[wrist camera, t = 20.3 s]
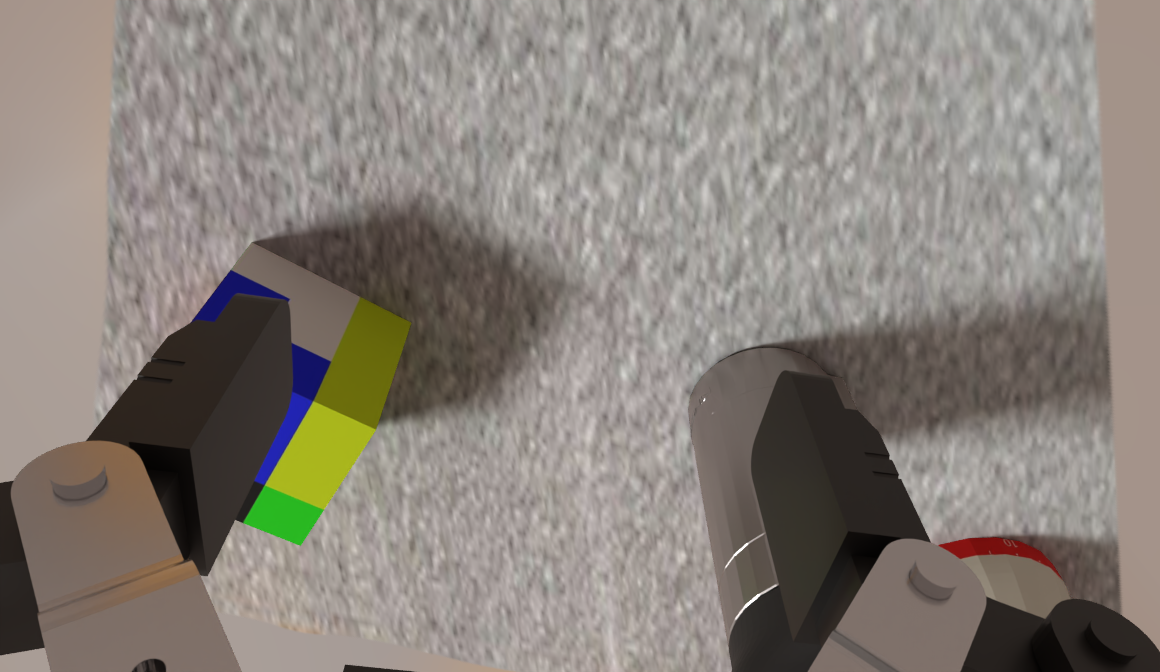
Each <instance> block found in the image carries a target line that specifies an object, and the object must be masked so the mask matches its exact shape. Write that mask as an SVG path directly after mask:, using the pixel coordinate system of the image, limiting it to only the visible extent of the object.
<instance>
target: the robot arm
mask: <svg viewBox="0 0 1160 672" xmlns="http://www.w3.org/2000/svg"><path fill="white" fill-rule="evenodd" d="M292 388H293V365H292V341H291V317H290V307H289V304H288V302H287V301H286V300H284V299H276V298H269V297H262V296H255V295H247V294H240V293H237V294H235V295H234V296H233V297H232V298H231V300H230V301H229V302H228V304H227V305H226V307H225V308H224V309H223V311H222V312H221V314H220V315H219V316H218V318H217V319H216V321H215V322H211V321H204V320H195V321H193V322H192V323H190V324H188V325H187V326H185V327H183V328H181V329H180V330H178V331H176V332H175V333H173V334H171V335H170V336H168V337H167V338H166V340H165V341H164V342H163V344H162V345H161V346H160V347H159V349H158V350H157V351H156V352H155V354H154V355H153V356H152V358H151V362H148V363H147V364H146V365H145V366H144V368H143V369H142V370H141V372H140V373H139V374H138V378H137V380H133V382H132V383H131V384H130V386H129V387H128V388H127V389H126V391H125V392H124V393H123V394H122V396H121V397H120V398H119V399H118V401H117V402H116V403H115V405H114V406H113V407H112V408H111V410H110V411H109V412H108V413H107V415H106V416H105V417H104V419H103V420H102V421H101V422H100V424H99V425H98V426H97V427H96V429H95V430H94V431H93V433H92V434H91V435H90V436H89V438H88V439H87V440H86V441H85V442H77V443H73V444H68V445H65V446H61V447H58V448H56V449H53V450H51V451H49V452H46V453H44V454H42V455H41V456H39V457H37V458H36V459H34V460H33V461H31V462H30V463H29V464H27V465H26V466H25V467H24V468H23V469H22V470H21V471H20V472H19V474H18V475H17V476H16V478H15V480H14V481H10V482H3V483H0V655H5V654H10V653H17V652H22V651H28V650H34V649H39V648H45V649H46V653H47V658H48V662H49V666H50V670H51V672H242V671H241V669H240V667H239V664H238V662H237V660H236V657H235V655H234V653H233V650H232V648H231V646H230V643H229V641H228V639H227V636H226V634H225V632H224V630H223V627H222V625H221V623H220V620H219V618H218V616H217V613H216V611H215V609H214V606H213V604H212V602H211V599H210V597H209V595H208V592H207V590H206V588H205V585H204V583H203V581H202V579H201V576H208V574H209V572H210V570H211V568H212V566H213V564H214V562H215V560H216V558H217V556H218V554H219V552H220V550H221V548H222V546H223V544H224V542H225V540H226V538H227V535H228V533H229V531H230V529H231V527H232V525H233V523H234V521H235V519H236V517H237V515H238V513H239V511H240V509H241V507H242V505H243V503H244V501H245V499H246V497H247V495H248V493H249V491H250V489H251V486H252V484H253V482H254V480H255V478H256V476H257V474H258V472H259V470H260V468H261V466H262V464H263V462H264V460H265V458H266V456H267V454H268V452H269V450H270V448H271V446H272V444H273V442H274V439H275V437H276V435H277V433H278V431H279V429H280V427H281V425H282V423H283V421H284V419H285V417H286V414H287V412H288V408H289V405H290V401H291V395H292ZM688 413H689V422H690V429H691V431H690V432H691V438H692V443H693V445H694V451H695V457H696V463H697V469H698V475H699V481H700V486H701V492H702V498H703V504H704V510H705V515H706V521H707V527H708V533H709V538H710V544H711V550H712V556H713V562H714V567H715V573H716V579H717V585H718V591H719V596H720V601H721V607H722V613H723V619H724V625H725V630H726V636H727V642H728V647H729V653H730V659H731V665H732V672H1160V652H1159V650H1158V649H1157V647H1156V646H1155V644H1154V643H1153V642H1152V641H1151V640H1150V639H1149V638H1148V636H1147V635H1146V634H1144V633H1143V632H1142V631H1141V630H1140V629H1139V628H1138V627H1137V626H1135V625H1134V624H1133V623H1132V622H1130V621H1129V620H1127V619H1126V618H1125V617H1123V616H1122V615H1120V614H1118V613H1116V612H1115V611H1113V610H1111V609H1109V608H1107V607H1105V606H1102V605H1100V604H1097V603H1094V602H1091V601H1086V600H1081V599H1067V600H1064V601H1061V602H1059V603H1058V604H1056V606H1055V607H1054V608H1053V609H1052V611H1051V612H1050V613H1049V615H1048V616H1047V617H1046V619H1044V618H1042V617H1039V616H1036V615H1034V614H1031V613H1028V612H1026V611H1023V610H1020V609H1017V608H1015V607H1012V606H1009V605H1007V604H1004V603H1001V602H999V601H996V600H994V599H991V598H989V597H987V596H986V594H985V591H984V588H983V586H982V584H981V582H980V580H979V579H978V577H977V576H976V575H975V573H974V572H973V571H972V570H971V569H970V568H969V567H968V566H967V565H966V564H965V563H964V562H963V561H962V560H960V559H959V558H958V557H957V556H955V555H954V554H952V553H951V552H949V551H947V550H945V549H943V548H942V547H940V546H937V545H935V544H932V543H931V542H930V539H929V537H928V535H927V533H926V531H925V529H924V527H923V525H922V523H921V520H920V518H919V516H918V514H917V512H916V510H915V508H914V506H913V503H912V501H911V499H910V497H909V495H908V493H907V491H906V489H905V487H904V484H903V482H902V480H901V479H898V475H899V474H898V472H897V470H896V468H895V465H894V463H893V461H892V460H889V456H890V455H889V453H888V451H887V448H886V446H885V444H884V442H883V440H882V438H881V436H880V434H879V432H878V431H877V430H876V429H875V428H874V427H873V426H872V425H871V424H870V423H869V422H868V421H867V420H866V419H865V418H864V417H863V416H862V415H861V414H860V413H859V411H858V410H857V408H856V406H855V403H854V401H853V399H852V397H851V395H850V392H849V390H848V388H847V386H846V384H845V381H844V379H843V378H841V377H835V376H831V375H828V374H827V373H825V372H824V371H823V370H822V369H821V368H820V367H819V366H818V365H817V364H816V363H815V362H814V361H812V360H811V359H809V358H808V357H806V356H804V355H802V354H800V353H797V352H794V351H791V350H786V349H780V348H757V349H752V350H747V351H742V352H740V353H737V354H735V355H732V356H729V357H727V358H725V359H724V360H722V361H720V362H719V363H717V364H715V365H714V366H713V367H712V368H711V369H709V370H708V371H707V372H706V373H705V374H704V375H703V376H702V378H701V379H700V380H699V382H698V383H697V384H696V386H695V388H694V390H693V392H692V394H691V397H690V401H689V407H688ZM200 575H201V576H200ZM343 672H412V671H403V670H393V669H382V668H373V667H363V666H353V665H345V667H344V671H343Z"/></svg>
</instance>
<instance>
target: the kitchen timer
mask: <svg viewBox="0 0 1160 672" xmlns="http://www.w3.org/2000/svg"><path fill="white" fill-rule="evenodd" d="M938 546H940V547H942V548H943V549H945V550H947V551H949V552H951V553H952V554H954V555H955V556H957V557H958V558H959V559H960V560H962V561H963V562H964V563H965V564H966V565H967V566H968V567H969V568H970V569H971V570H972V571H973V572H974V573H975V575H976V576H977V577H978V579H979V580H980V582H981V584H982V586H983V588H984V591H985V594H986V596H987V597H989V598H991V599H994V600H996V601H999V602H1001V603H1004V604H1007V605H1009V606H1012V607H1015V608H1017V609H1020V610H1023V611H1026V612H1028V613H1031V614H1034V615H1036V616H1039V617H1042V618H1044V619H1046V617H1047V616H1048V615H1049V613H1050V612H1051V611H1052V609H1053V608H1054V607H1055V606H1056V604H1058V603H1059V602H1061V601H1064V600H1067V599H1071V598H1070V596H1069V593H1068V590H1067V588H1066V586H1065V584H1064V582H1063V580H1062V578H1061V577H1060V575H1059V573H1058V572H1057V570H1056V569H1055V567H1054V565H1053V564H1052V563H1051V562H1050V561H1049V560H1048V559H1047V558H1046V557H1045V555H1044V554H1043V553H1042V552H1041V551H1039V550H1037V549H1035V548H1033V547H1031V546H1029V545H1027V544H1025V543H1022V542H1020V541H1014V540H1009V539H1003V538H997V537H990V538H968V539H963V540H959V541H954V542H950V543H945V544H941V545H938Z"/></svg>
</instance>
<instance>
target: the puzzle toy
mask: <svg viewBox="0 0 1160 672" xmlns="http://www.w3.org/2000/svg"><path fill="white" fill-rule="evenodd" d="M237 293H240V294H247V295H255V296H262V297H269V298H276V299H284V300H286V301H287V302H288V304H289V307H290V317H291V341H292V365H293V388H292V395H291V401H290V405H289V408H288V412H287V414H286V417H285V419H284V421H283V423H282V425H281V427H280V429H279V431H278V433H277V435H276V437H275V439H274V442H273V444H272V446H271V448H270V450H269V452H268V454H267V456H266V458H265V460H264V462H263V464H262V466H261V468H260V470H259V472H258V474H257V476H256V478H255V480H254V482H253V484H252V486H251V489H250V491H249V493H248V495H247V497H246V499H245V501H244V503H243V505H242V507H241V509H240V511H239V513H238V515H237V517H236V519H235V520H237V521H239V522H242V523H244V524H247V525H249V526H252V527H254V528H257V529H260V530H262V531H265V532H267V533H270V534H272V535H275V536H277V537H280V538H282V539H285V540H287V541H290V542H292V543H295V544H297V545H300V546H301V544H302V543H303V541H304V540H305V538H306V537H307V535H308V534H309V532H310V531H311V529H312V527H313V526H314V524H315V523H316V521H317V520H318V518H319V517H320V515H321V514H322V512H323V511H324V509H325V507H326V506H327V504H328V503H329V501H330V500H331V498H332V497H333V495H334V494H335V492H336V491H337V489H338V487H339V486H340V484H341V483H342V481H343V480H344V478H345V477H346V475H347V474H348V472H349V471H350V469H351V468H352V466H353V464H354V463H355V461H356V460H357V458H358V457H359V455H360V454H361V452H362V451H363V449H364V448H365V446H366V444H367V443H368V441H369V440H370V438H371V437H372V435H373V434H374V432H375V431H376V428H377V425H378V422H379V419H380V416H381V413H382V410H383V407H384V404H385V401H386V398H387V395H388V392H389V389H390V386H391V383H392V380H393V377H394V374H395V371H396V368H397V365H398V362H399V359H400V356H401V353H402V350H403V347H404V344H405V341H406V338H407V335H408V332H409V329H410V326H411V322H409V321H407V320H405V319H403V318H401V317H399V316H397V315H395V314H393V313H391V312H389V311H387V310H385V309H383V308H381V307H379V306H377V305H375V304H373V303H371V302H369V301H367V300H365V299H363V298H361V297H359V296H357V295H356V294H354V293H352V292H350V291H348V290H346V289H344V288H342V287H340V286H338V285H336V284H334V283H332V282H330V281H328V280H326V279H324V278H322V277H320V276H318V275H316V274H314V273H312V272H310V271H308V270H306V269H304V268H302V267H300V266H298V265H296V264H294V263H292V262H290V261H288V260H286V259H284V258H282V257H280V256H278V255H276V254H274V253H272V252H270V251H268V250H266V249H264V248H262V247H260V246H258V245H256V244H254V243H253V242H252V243H251V244H250V245H249V247H248V248H247V249H246V251H245V252H244V253H243V254H242V256H241V257H240V258H239V260H238V261H237V262H236V264H235V265H234V266H233V268H232V269H231V270H230V272H229V273H228V274H227V276H226V277H225V278H224V279H223V281H222V282H221V283H220V285H219V286H218V287H217V289H216V290H215V291H214V293H213V294H212V295H211V297H210V298H209V299H208V301H207V302H206V303H205V304H204V306H203V307H202V308H201V310H200V311H199V312H198V314H197V315H196V316H195V318H194V319H193V320H192V322H193V321H195V320H204V321H211V322H215V321H216V319H217V318H218V316H219V315H220V314H221V312H222V311H223V309H224V308H225V307H226V305H227V304H228V302H229V301H230V300H231V298H232V297H233V296H234V295H235V294H237ZM192 322H191V323H192Z"/></svg>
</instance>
